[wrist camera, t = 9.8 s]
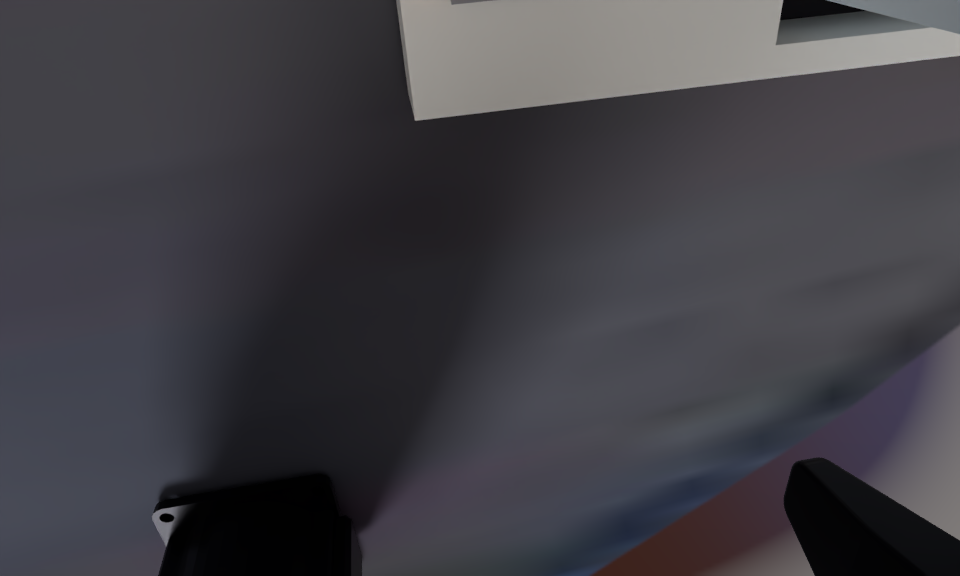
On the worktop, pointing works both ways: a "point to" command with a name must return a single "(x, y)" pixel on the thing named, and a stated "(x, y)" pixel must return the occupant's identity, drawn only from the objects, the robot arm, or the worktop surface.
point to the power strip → (630, 48)
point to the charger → (915, 11)
